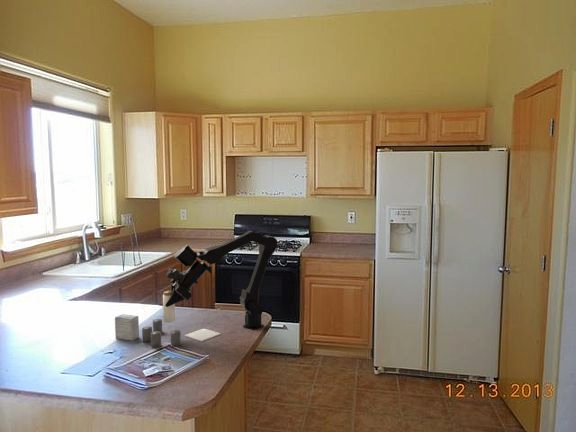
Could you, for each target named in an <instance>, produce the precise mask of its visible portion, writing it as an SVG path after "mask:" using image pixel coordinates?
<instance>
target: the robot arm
mask: <svg viewBox="0 0 576 432" xmlns="http://www.w3.org/2000/svg"><path fill="white" fill-rule="evenodd" d="M252 242H254V243H257V244H258V257H257V260H256V263H255V266H254V269H253V272H252V275H251V278H250V281H249V285H248V287H247V288H246V289H241V295H240V296H239V297H238V298H239V299H240V300H239V303H240V305H241V306H242V307H243V308H244V310H245V315H244V324H243V325H242V327H243V328H246V329H250V330H257V329H259V328H262V327H264V326H265V324H262V314H263V311H264V309H263V307H261V306H260V305H259V300H260V299H259V298H260V297H259V296H260V295H259V294H260V292H259V291H260V287H261V284H262V281H263V279H264V278H263V277H264V275H265V272H266V269H267V265H268V263H269V260H270V258H271V257H272V256H273V254H274V253H275V252H276V249H277V248H278V244H279V242H278V240H277V238H276V237H275V236H271V235H267V234H265V235H261V234H259V233H257V232H255V231H252V230H248V231H246V232H244V233H243V234H240V235H239V236H236V237H234V238H232V239H230V240H229V241H226V242H224V243H221V244H218V245H214V246H210V247H207V248H205V249H204V250H202V251H197V252H195V251H194V250H193V249H192V248H191V247H190V246H189V245H188V244H186V245H185V246H184V247H183V246H182V248H181V249H179V250H178V251H177V252H176V253H175V255H174V258H175V259H176V260H177V261H178V262H179V263H180V264H181V265H182V266H184V267H186V268H187V267H189V268H188V269H187V270H185V269H184V270H183V271H182V272H181V271H180V270H178V269H177V268H176V269H174V268H171V267H169V268H168V269H167V272H166V273H165V277H166V278H168V279H170V282H171V283H170V290H169V291H173V294H172V296H171V297H170V299H169V300H168V301H167V303H166V305H165V306H166V307H169V306H171V305H173V304H175V305H176V304H177V303H180V302H182V301H185V300H187V301H189V300H190V299H191V298H192V292H191V290H192V287H193V286H195V284H198V283H199V280H200V278H202V276H203V275H204V274H205V273H206V272H208V273H209V274H212V273H213V272H212V268H213V266H212V265H214V264H216V263H218V262H219V261H221V260H222V259H223V258H224V257H225V256H226V255H227V254H230V253H231V252H234V251H235V250H238V249H239V248H241V247H243V246H245V245H248V244H249V243H252ZM198 259H199V260H198ZM200 261H201V262H200ZM207 263H208V264H209V265H208V264H207Z"/></svg>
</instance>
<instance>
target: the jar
mask: <svg viewBox="0 0 576 432" xmlns="http://www.w3.org/2000/svg"><path fill="white" fill-rule="evenodd" d="M172 294H173V291H170V290H165V291H163V294H162V313H163V314H162V315H163V317H162V320H163V323H166V324H167V323H169V324H170V323H174V322H175V321H176V303H175V304H173V305H171V306H169V307H166V306H165V305H166V303H167V301H168V300H169V299H170V297H171V296H172Z"/></svg>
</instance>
